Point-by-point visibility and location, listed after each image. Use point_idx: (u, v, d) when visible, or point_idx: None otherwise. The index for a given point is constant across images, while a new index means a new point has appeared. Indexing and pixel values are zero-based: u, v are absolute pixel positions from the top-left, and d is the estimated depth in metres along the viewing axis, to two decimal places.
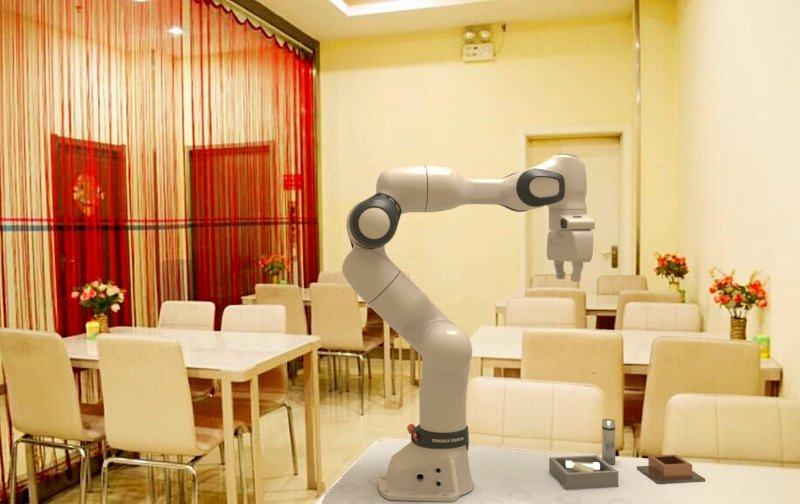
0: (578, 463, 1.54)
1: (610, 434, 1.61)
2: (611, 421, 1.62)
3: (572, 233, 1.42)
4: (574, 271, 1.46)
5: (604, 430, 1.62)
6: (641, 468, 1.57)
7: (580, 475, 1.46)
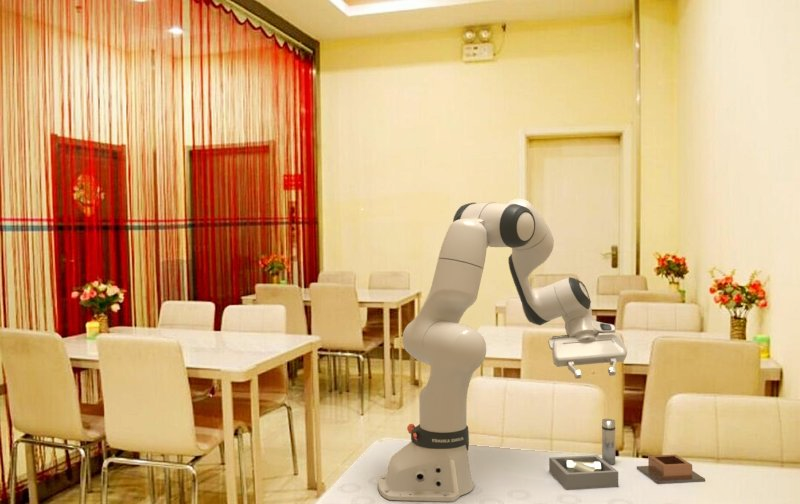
0: (579, 463, 1.54)
1: (610, 434, 1.61)
2: (611, 421, 1.62)
3: (617, 334, 1.78)
4: None
5: (604, 430, 1.62)
6: (641, 468, 1.57)
7: (580, 475, 1.46)
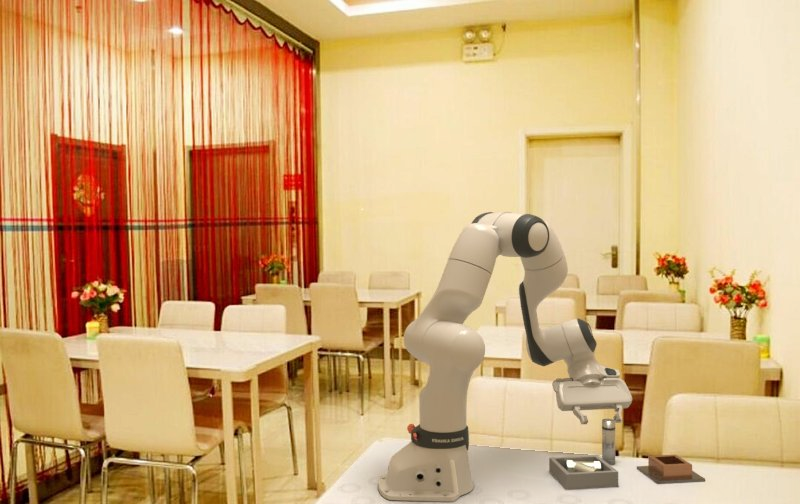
0: (579, 462, 1.54)
1: (610, 434, 1.61)
2: (611, 421, 1.62)
3: None
4: None
5: (604, 430, 1.62)
6: (641, 468, 1.57)
7: (580, 475, 1.46)
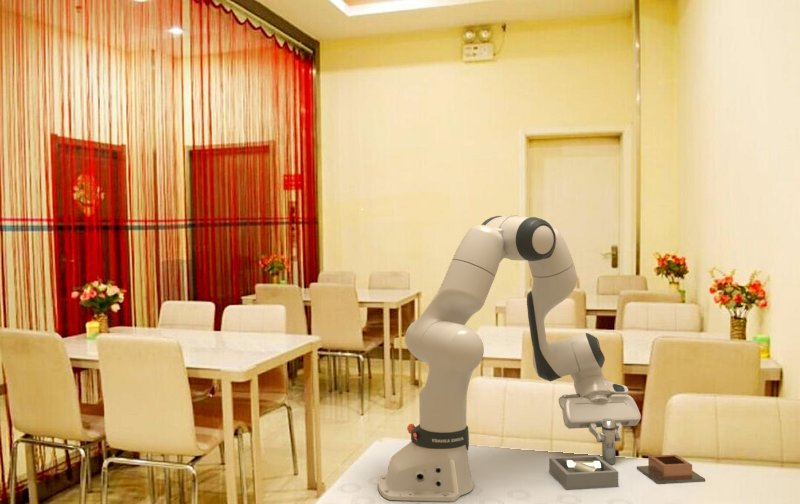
0: (579, 462, 1.54)
1: (610, 434, 1.61)
2: (611, 421, 1.62)
3: (630, 396, 1.69)
4: (620, 430, 1.64)
5: (604, 430, 1.62)
6: (641, 468, 1.57)
7: (580, 475, 1.46)
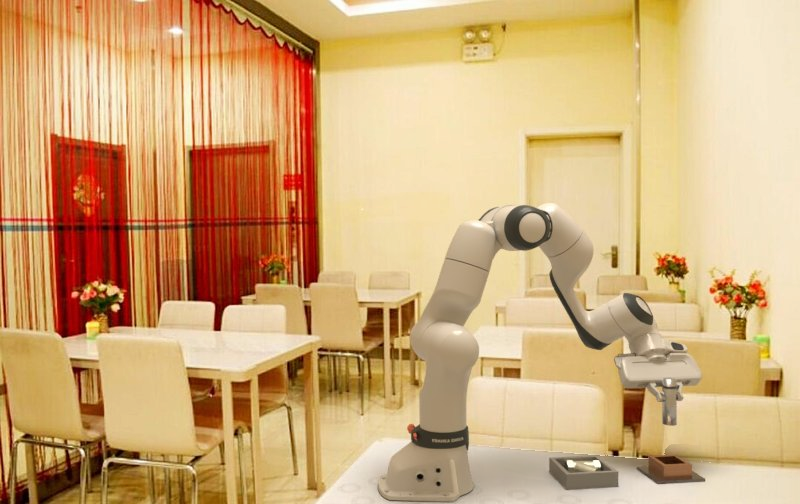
0: (579, 462, 1.54)
1: (671, 393, 1.52)
2: (672, 379, 1.53)
3: None
4: (681, 389, 1.55)
5: (665, 389, 1.53)
6: (641, 468, 1.57)
7: (580, 475, 1.46)
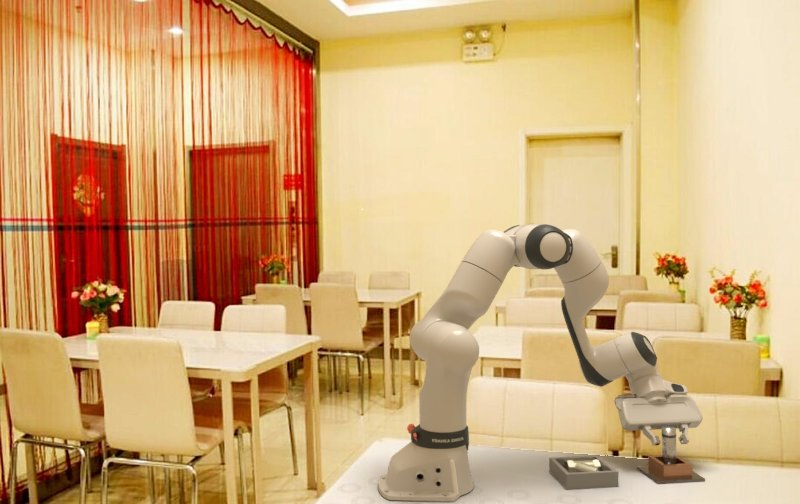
0: (579, 462, 1.55)
1: (671, 442, 1.53)
2: (672, 428, 1.53)
3: None
4: (687, 432, 1.55)
5: (664, 438, 1.53)
6: (641, 468, 1.57)
7: (580, 475, 1.46)
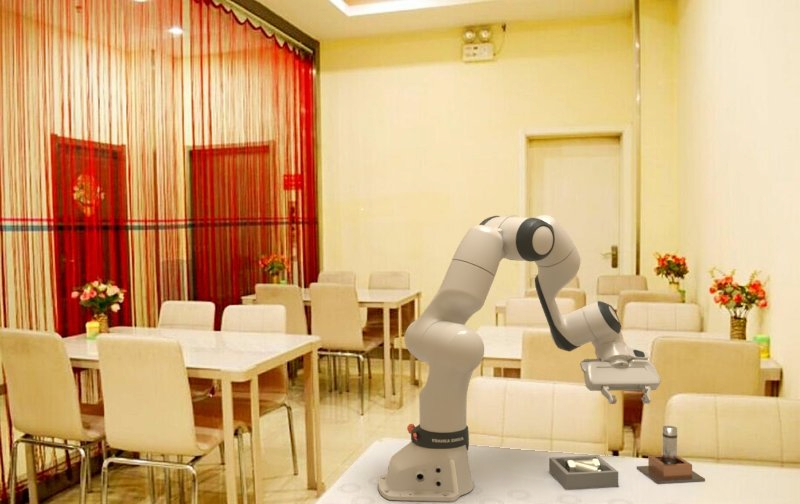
0: (579, 461, 1.55)
1: (672, 442, 1.53)
2: (673, 428, 1.53)
3: None
4: None
5: (665, 438, 1.53)
6: (641, 468, 1.57)
7: (580, 475, 1.46)
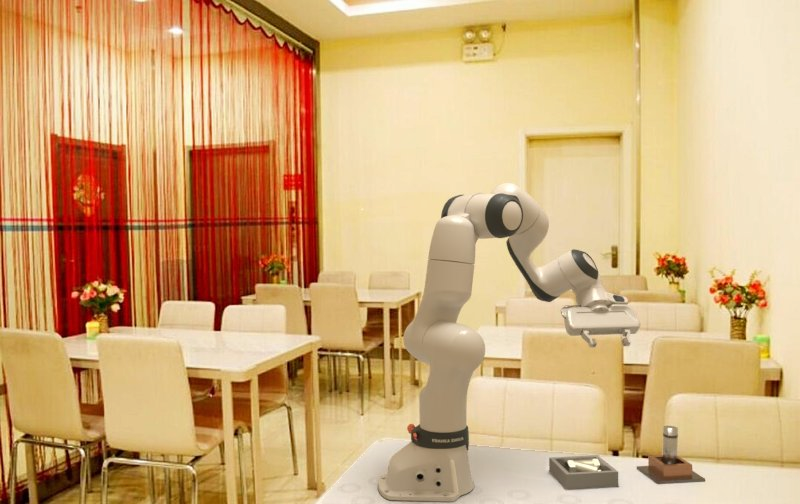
0: (579, 461, 1.55)
1: (673, 442, 1.53)
2: (674, 428, 1.53)
3: (630, 306, 1.75)
4: (629, 335, 1.70)
5: (666, 438, 1.53)
6: (641, 468, 1.57)
7: (580, 475, 1.46)
